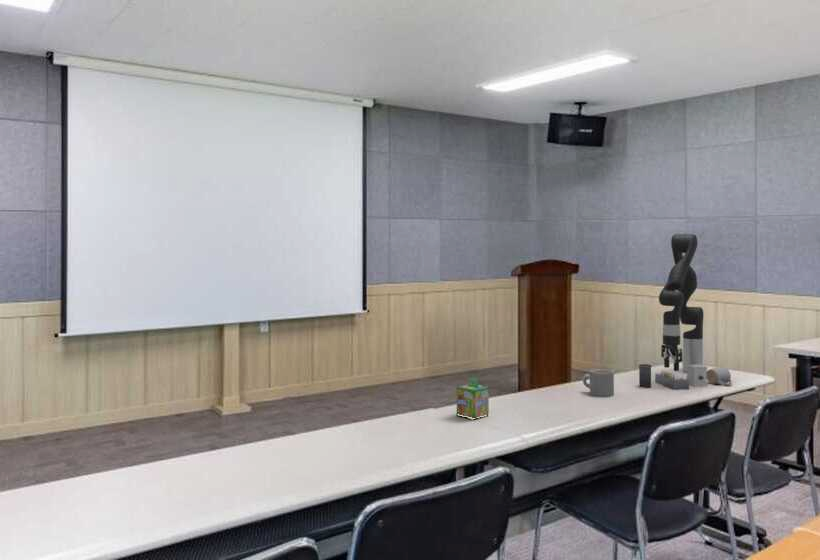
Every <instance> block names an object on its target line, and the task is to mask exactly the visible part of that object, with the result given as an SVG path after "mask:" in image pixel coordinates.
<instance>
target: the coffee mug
mask: <svg viewBox="0 0 820 560" xmlns="http://www.w3.org/2000/svg"><path fill="white" fill-rule="evenodd" d="M614 375H615V372H614V371H613V370H610V369H599V368H598V369H591V370H589V373H585V374H584V375H583V378H582V382H583V386H585V387H586V388H588V389H589V394H590V395H591V396H593V397H594V396H595V397H599V398H600V397H603V398H608V397H609V398H610V397H613V396H615V389H614V388H615V386H614V385H615V378H614V377H615V376H614ZM587 378H588V379H589V383H588V382H587Z"/></svg>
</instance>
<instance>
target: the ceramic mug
mask: <svg viewBox="0 0 820 560" xmlns="http://www.w3.org/2000/svg"><path fill="white" fill-rule="evenodd" d="M731 378H732V377H731V372H730V370H729V369H728V368H727V367H726V366H717V367H714V368H709V369H708V370H707V382H708V383H710V384H711V385H721V386H723V385H731V386H732V383H733V381H732V379H731Z"/></svg>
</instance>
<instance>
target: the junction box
mask: <svg viewBox="0 0 820 560" xmlns="http://www.w3.org/2000/svg"><path fill="white" fill-rule="evenodd" d="M686 367H687V372H686V379H687V380H689V384H690V385H689V386H693V387H705V386H704V385H707V386H708V384H707V382H708V380H707V371H708V370H707V369H708V366H706V365H704V364H703V365H700V364H698V365H686Z"/></svg>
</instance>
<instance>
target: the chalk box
mask: <svg viewBox="0 0 820 560" xmlns="http://www.w3.org/2000/svg"><path fill="white" fill-rule="evenodd" d="M472 381H473V382H474V383H475V384H474V383H472ZM489 391H490V387H488V386H486V385H481V384H479V378H477V377H472V376H471V377H468V383H467V384H465V385H464V384H463V385H460V386H459V385H458V386H457V387H456V415H457V414H459V415H463V416H468V417H472V418H477V417H480V416H484V415H488V414H489V409H490V406H489V402H490V401H489V399H490V398H489V397H490V394H489V393H490V392H489Z"/></svg>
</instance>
